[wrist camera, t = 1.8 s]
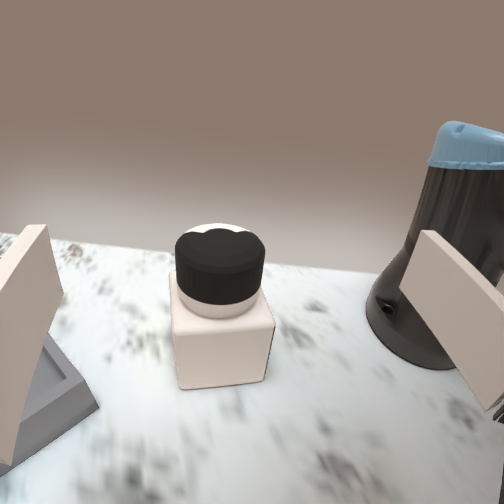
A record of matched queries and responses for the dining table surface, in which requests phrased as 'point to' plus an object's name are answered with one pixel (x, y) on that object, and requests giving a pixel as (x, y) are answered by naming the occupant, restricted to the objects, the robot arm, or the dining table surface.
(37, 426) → the box
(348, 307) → the dining table surface
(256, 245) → the medicine bottle
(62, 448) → the dining table surface
